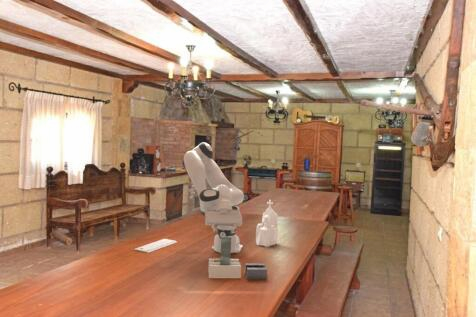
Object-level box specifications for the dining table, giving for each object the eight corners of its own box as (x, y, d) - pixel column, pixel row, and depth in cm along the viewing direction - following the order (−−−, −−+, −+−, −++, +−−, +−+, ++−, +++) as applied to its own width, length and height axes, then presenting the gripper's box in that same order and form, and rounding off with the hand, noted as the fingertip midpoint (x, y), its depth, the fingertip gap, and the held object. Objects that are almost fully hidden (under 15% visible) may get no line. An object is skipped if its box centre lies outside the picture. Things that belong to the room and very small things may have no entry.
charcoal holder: (244, 274, 215) (245, 263, 215) (263, 274, 216) (263, 263, 216) (247, 281, 205) (247, 269, 204) (266, 281, 206) (267, 269, 206)
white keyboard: (179, 243, 274) (164, 240, 279) (179, 239, 274) (164, 236, 279) (150, 254, 246) (134, 251, 251) (150, 249, 246) (134, 246, 251)
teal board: (219, 275, 210) (221, 236, 209) (229, 275, 210) (231, 236, 209) (219, 276, 208) (221, 237, 207) (229, 276, 208) (231, 237, 207)
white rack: (208, 271, 218) (208, 258, 217) (238, 271, 219) (238, 258, 219) (209, 279, 205) (209, 266, 204) (240, 280, 206) (241, 266, 206)
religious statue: (252, 245, 276) (254, 201, 274) (260, 240, 288) (261, 198, 286) (276, 249, 269) (278, 203, 267) (283, 244, 281) (285, 200, 279)
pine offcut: (213, 271, 215) (214, 258, 215) (223, 271, 216) (223, 258, 215) (213, 273, 212) (214, 259, 212) (223, 273, 213) (224, 259, 212)
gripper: (205, 206, 224) (204, 228, 215) (242, 207, 226) (243, 229, 217) (204, 213, 229) (204, 234, 220) (241, 214, 231) (242, 235, 221)
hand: (223, 231), depth 218 cm, fingers open, 8 cm apart
